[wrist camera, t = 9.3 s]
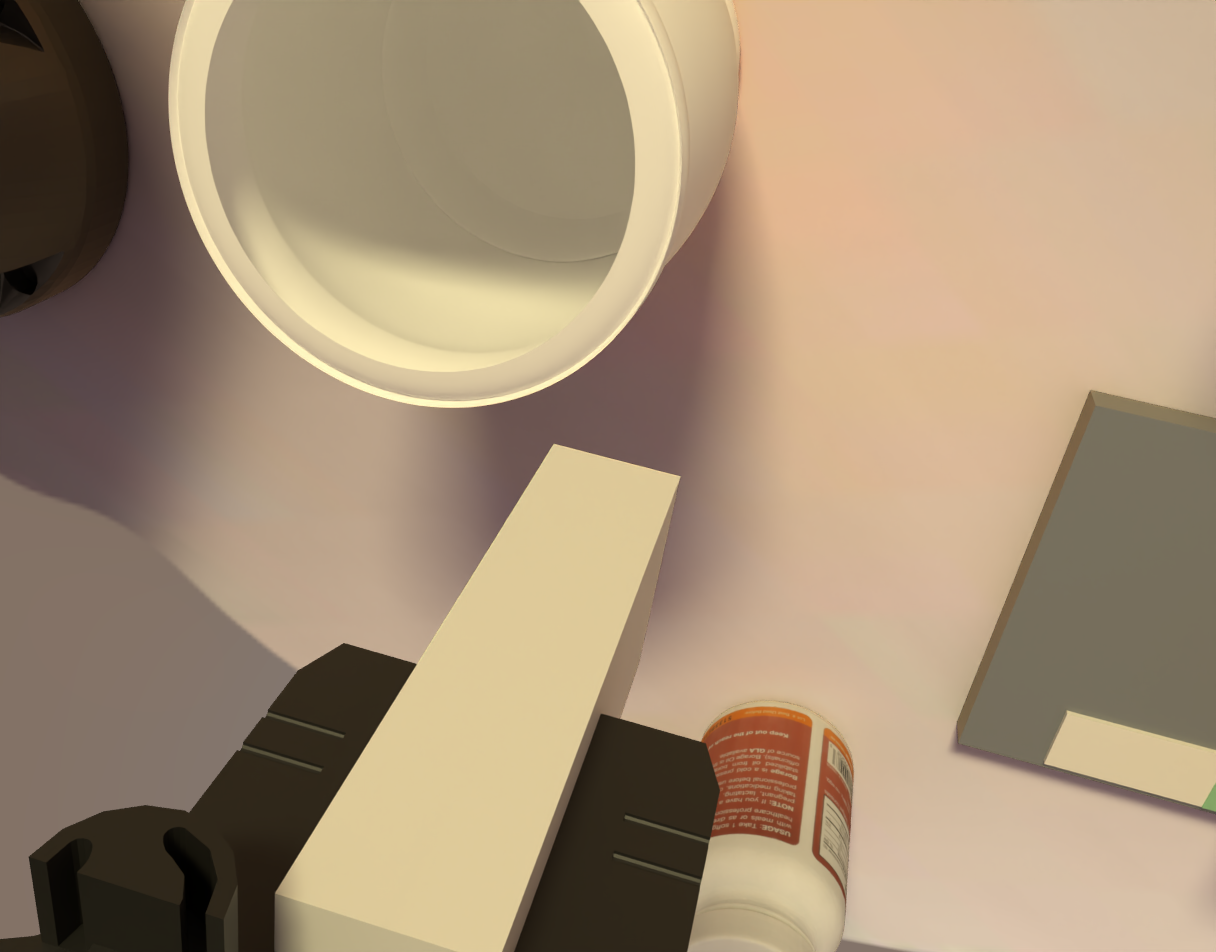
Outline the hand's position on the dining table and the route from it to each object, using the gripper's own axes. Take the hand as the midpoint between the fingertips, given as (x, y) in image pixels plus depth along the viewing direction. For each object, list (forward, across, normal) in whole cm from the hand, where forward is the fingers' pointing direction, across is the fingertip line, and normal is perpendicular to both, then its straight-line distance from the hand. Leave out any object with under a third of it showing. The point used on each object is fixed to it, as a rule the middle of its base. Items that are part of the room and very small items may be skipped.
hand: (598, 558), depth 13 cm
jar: (+24, -6, +1) cm, 25 cm away
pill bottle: (+24, +5, -24) cm, 34 cm away
